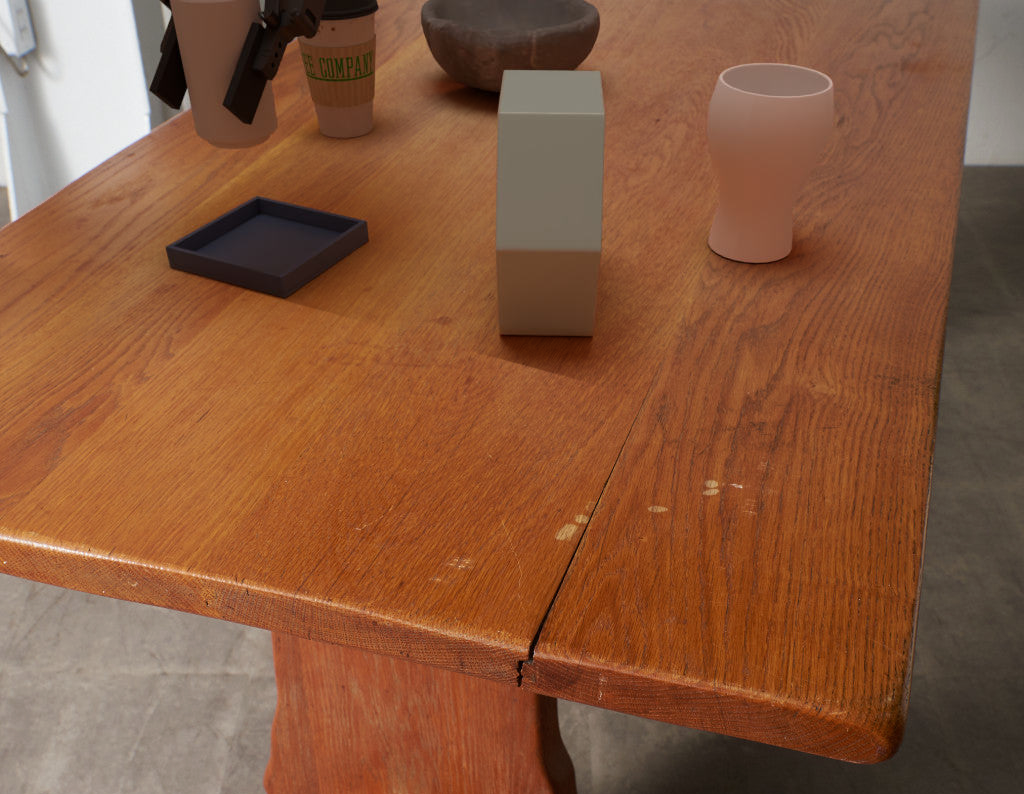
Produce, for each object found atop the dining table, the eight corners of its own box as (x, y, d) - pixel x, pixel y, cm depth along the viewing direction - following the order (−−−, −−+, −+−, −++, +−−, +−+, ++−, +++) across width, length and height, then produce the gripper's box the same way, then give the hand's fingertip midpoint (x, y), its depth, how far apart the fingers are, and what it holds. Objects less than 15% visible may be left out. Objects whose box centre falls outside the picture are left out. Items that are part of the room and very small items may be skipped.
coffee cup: (291, 139, 117) (271, -3, 107) (323, 112, 124) (307, -23, 114) (371, 146, 115) (358, 3, 105) (399, 118, 122) (389, -19, 113)
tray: (169, 267, 92) (165, 246, 90) (260, 215, 101) (256, 195, 99) (285, 298, 87) (282, 277, 86) (369, 240, 96) (367, 220, 95)
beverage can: (199, 156, 78) (165, -16, 70) (196, 128, 82) (163, -36, 75) (283, 147, 79) (258, -22, 71) (275, 120, 84) (251, -41, 76)
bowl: (629, 100, 127) (636, 14, 121) (466, 127, 120) (463, 37, 114) (547, 52, 143) (548, -26, 137) (398, 73, 136) (392, -8, 130)
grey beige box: (503, 341, 90) (505, 101, 88) (589, 342, 90) (595, 102, 88) (494, 327, 74) (497, 31, 71) (600, 328, 73) (607, 31, 71)
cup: (829, 246, 95) (865, 79, 85) (762, 282, 89) (792, 108, 80) (737, 212, 101) (761, 53, 91) (669, 244, 95) (686, 78, 86)
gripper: (431, -130, 77) (329, 153, 76) (232, -146, 84) (137, 112, 83) (387, -209, 70) (275, 101, 69) (174, -220, 77) (70, 61, 76)
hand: (200, 107), depth 76 cm, fingers closed on beverage can, 6 cm apart
